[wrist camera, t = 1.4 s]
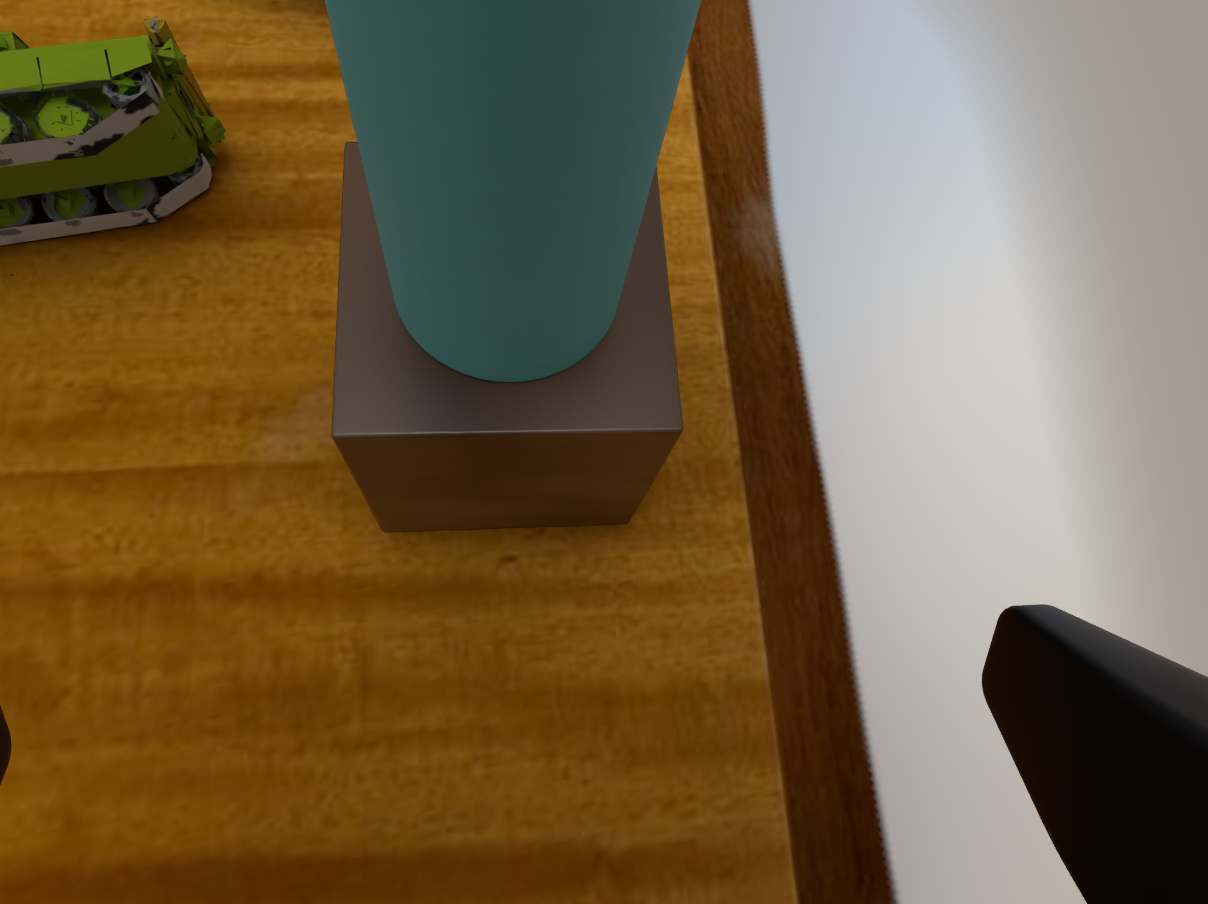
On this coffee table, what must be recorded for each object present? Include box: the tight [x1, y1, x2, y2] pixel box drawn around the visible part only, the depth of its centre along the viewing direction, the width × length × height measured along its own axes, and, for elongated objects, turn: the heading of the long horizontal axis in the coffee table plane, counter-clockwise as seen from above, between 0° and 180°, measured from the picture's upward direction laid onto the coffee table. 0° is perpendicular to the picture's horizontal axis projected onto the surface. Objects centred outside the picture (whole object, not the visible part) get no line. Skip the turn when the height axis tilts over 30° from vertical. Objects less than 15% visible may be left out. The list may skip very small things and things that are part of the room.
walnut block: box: [332, 142, 683, 532], centre depth 20 cm, size 6×6×7 cm
